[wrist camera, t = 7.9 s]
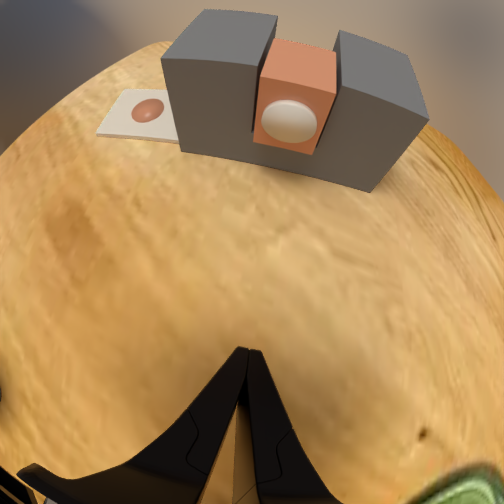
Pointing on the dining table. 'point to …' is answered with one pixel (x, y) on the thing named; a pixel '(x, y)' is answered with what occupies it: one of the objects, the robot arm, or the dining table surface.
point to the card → (140, 117)
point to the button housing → (246, 94)
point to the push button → (294, 95)
